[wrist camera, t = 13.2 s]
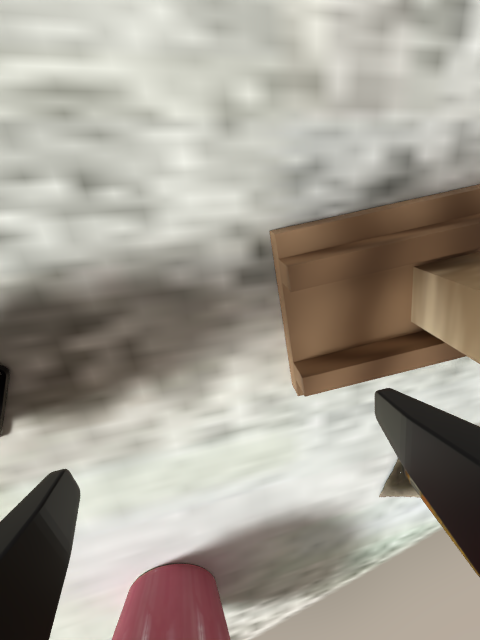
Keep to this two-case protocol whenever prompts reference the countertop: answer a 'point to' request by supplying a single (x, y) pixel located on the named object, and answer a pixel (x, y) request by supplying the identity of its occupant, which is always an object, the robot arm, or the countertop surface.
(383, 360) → the groove sill
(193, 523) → the countertop surface
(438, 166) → the countertop surface
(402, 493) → the condiment
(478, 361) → the tan wooden block
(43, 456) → the countertop surface
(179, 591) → the plant pot
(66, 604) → the countertop surface
